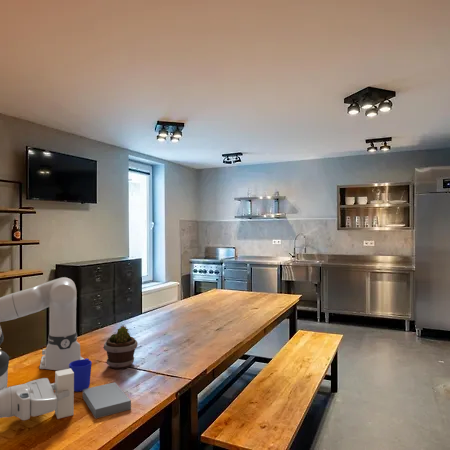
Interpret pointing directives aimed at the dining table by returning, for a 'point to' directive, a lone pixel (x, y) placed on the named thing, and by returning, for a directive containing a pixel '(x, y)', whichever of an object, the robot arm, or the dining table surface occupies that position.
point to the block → (62, 382)
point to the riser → (106, 400)
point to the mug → (81, 373)
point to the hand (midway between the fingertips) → (67, 389)
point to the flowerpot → (120, 349)
